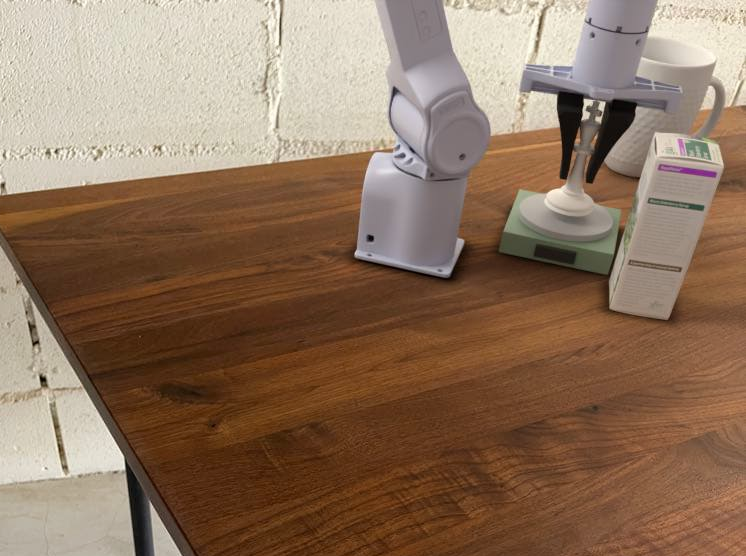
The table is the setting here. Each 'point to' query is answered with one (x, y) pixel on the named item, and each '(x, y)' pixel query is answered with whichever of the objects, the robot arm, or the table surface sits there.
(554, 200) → the chess piece
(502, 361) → the table surface
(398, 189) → the robot arm
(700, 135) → the mug
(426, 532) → the table surface
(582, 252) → the scale
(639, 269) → the syrup box
